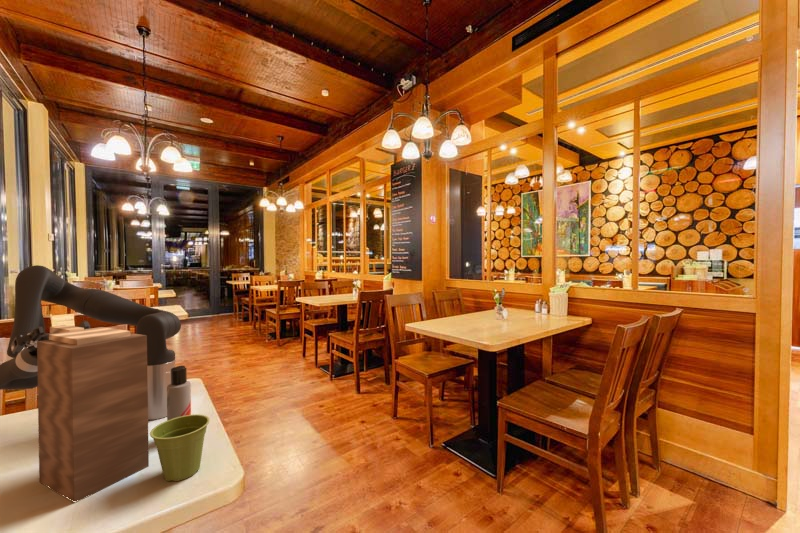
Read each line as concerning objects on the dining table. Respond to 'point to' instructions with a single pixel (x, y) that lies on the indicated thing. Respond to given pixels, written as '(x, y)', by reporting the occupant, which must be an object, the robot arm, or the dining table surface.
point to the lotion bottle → (178, 394)
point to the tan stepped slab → (84, 334)
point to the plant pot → (180, 445)
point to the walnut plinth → (92, 413)
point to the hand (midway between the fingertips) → (64, 326)
